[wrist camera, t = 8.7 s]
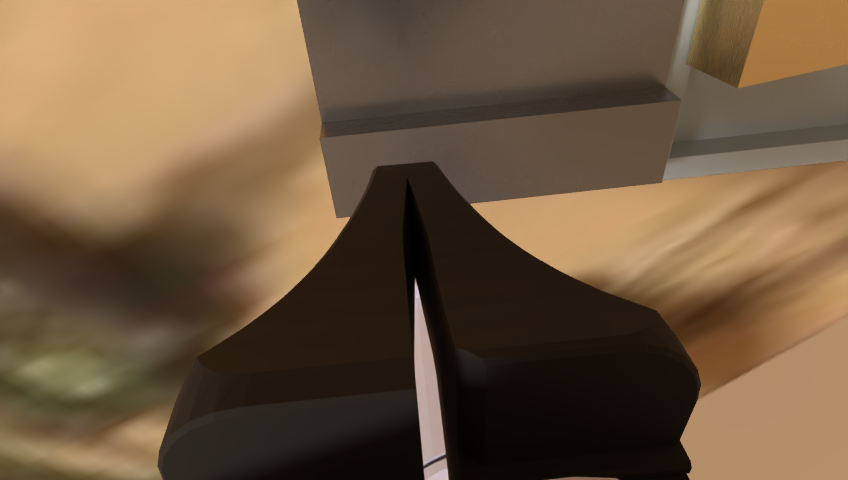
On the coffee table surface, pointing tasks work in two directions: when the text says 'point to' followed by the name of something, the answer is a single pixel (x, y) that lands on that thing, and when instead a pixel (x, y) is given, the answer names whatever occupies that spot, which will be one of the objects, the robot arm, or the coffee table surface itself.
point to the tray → (752, 117)
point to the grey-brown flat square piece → (494, 92)
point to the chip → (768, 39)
